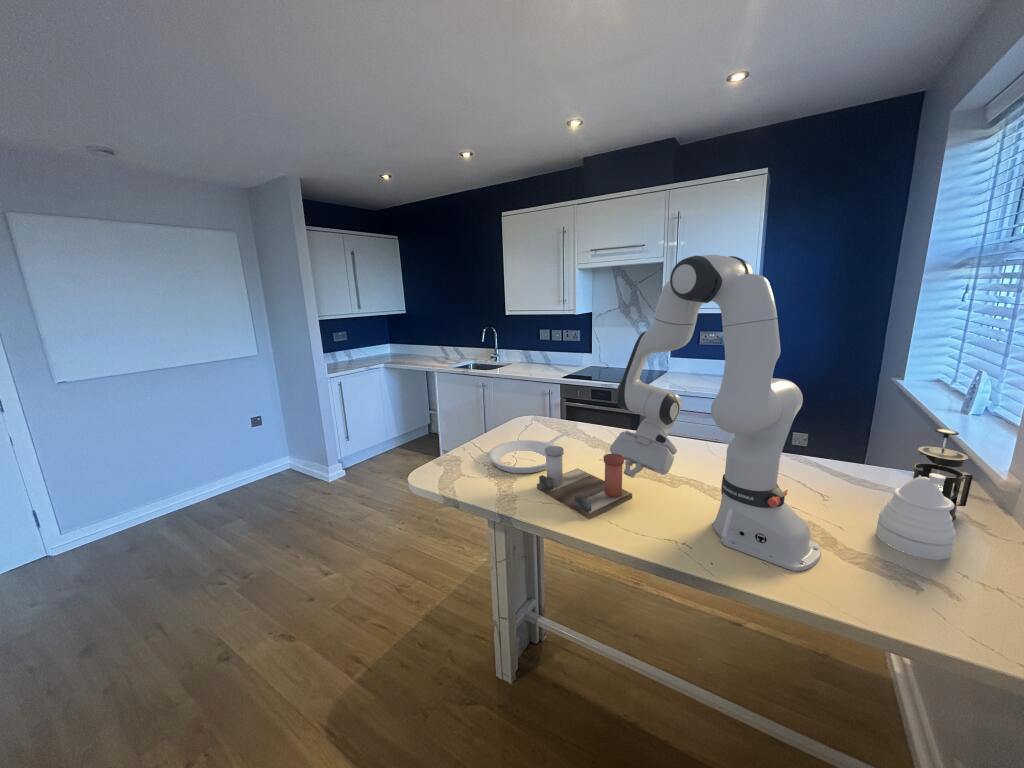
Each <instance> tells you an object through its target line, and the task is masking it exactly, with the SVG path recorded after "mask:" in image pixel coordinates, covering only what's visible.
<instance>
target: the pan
mask: <svg viewBox="0 0 1024 768" xmlns="http://www.w3.org/2000/svg"><path fill="white" fill-rule="evenodd" d="M570 434H571V433H570V432H569V431H566V432H563V433H561V434H558V435H557V436H555V437H554V438H552V439H551V440H549V441H540V440H534V439H533V440H532V439H531V440H529V439H524V440H523V439H522V440H519V439H518V440H511V441H506V442H503V443H500V444H499V445H496V446H494V447H493V448H492V449H490V451H489V453H488V458H489V460H490V461H491V462H493V465H494V466H495V467H496V468H497V469H498V470H500V469H501V470H500V471H502V472H505V471H507V472H506V473H509V472H510V474H515V473H517V474H518V475H519V474H520V475H529V474H530V473H531V474H536V473H537V474H538V473H540V472H543V471H547V464H546V463H545V464H542V465H537V466H531V467H514V466H507V465H503V464H501V463H500V459H501V457H503V456H504V455H505V454H507V453H510V452H514V451H533V452H536V453H539V454H541V455H543V456H545V457H546V454H545V448H547V447H549V446H554V443H555V442H556V441H557V440H559V439H561V438H562V437H566V436H568V435H570ZM517 474H516V475H517ZM531 474H530V475H531Z"/></svg>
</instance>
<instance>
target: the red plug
mask: <svg viewBox="0 0 1024 768" xmlns="http://www.w3.org/2000/svg"><path fill="white" fill-rule="evenodd" d="M603 462H604V481H605V494H606V495H608V496H612V497H617V496H620V495H621V494H622V489H623V464H624V463H625V460H624V457H623V456H621V455H619V454H612V453H607V454H605V455H603Z"/></svg>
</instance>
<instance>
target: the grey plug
mask: <svg viewBox="0 0 1024 768" xmlns="http://www.w3.org/2000/svg"><path fill="white" fill-rule="evenodd" d="M564 453H565V452H564V448H563V446H562V447H561V446H559V445H553V446H549V447H547V448H545V454H546V464H547V469H546V477H547V478H549V479H551V480H553V486H559V485H561V484H562V483H563V474H564V473H563V456H564Z"/></svg>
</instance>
